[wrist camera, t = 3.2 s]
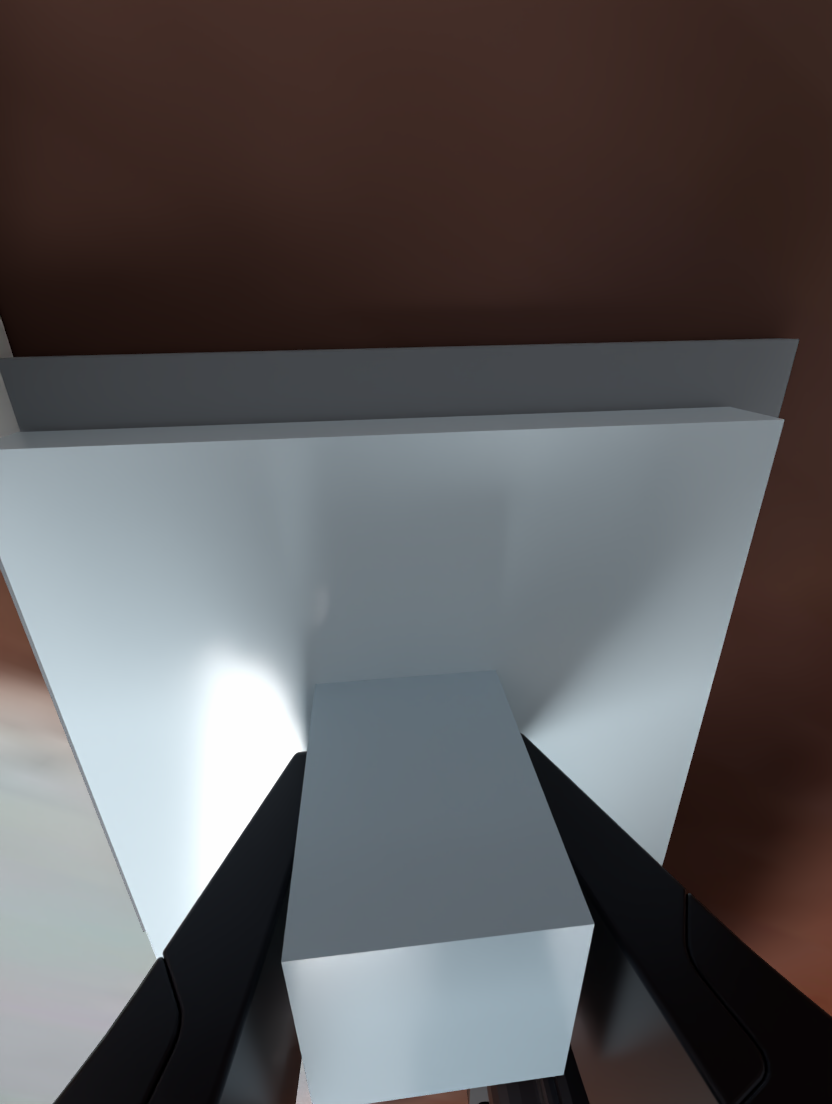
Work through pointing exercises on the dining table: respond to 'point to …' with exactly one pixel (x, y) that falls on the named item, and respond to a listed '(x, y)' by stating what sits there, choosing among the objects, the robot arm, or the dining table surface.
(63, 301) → the dining table surface
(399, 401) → the mat
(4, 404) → the white open box
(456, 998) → the lid
